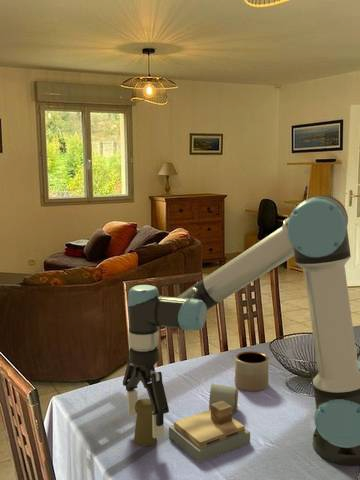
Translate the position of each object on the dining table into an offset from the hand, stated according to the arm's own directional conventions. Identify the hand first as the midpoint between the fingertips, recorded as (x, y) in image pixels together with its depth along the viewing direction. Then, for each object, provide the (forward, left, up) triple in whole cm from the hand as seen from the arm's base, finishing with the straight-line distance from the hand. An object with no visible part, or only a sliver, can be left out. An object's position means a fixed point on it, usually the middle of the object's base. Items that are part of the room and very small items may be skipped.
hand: (144, 424), depth 131 cm
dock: (-9, -14, -4) cm, 17 cm away
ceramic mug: (+3, -28, -5) cm, 28 cm away
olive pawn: (0, 0, -5) cm, 5 cm away
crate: (-9, -18, 0) cm, 20 cm away
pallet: (-9, -14, -1) cm, 17 cm away
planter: (+10, -45, -5) cm, 46 cm away
